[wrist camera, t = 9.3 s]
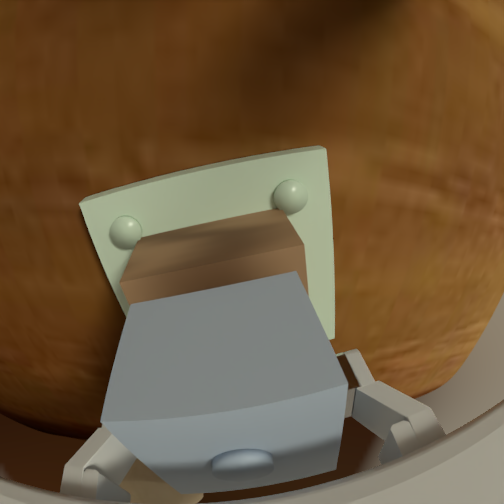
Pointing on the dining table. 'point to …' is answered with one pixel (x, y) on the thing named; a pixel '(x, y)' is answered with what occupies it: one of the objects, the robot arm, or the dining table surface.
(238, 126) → the dining table surface
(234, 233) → the base brick
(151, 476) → the candle
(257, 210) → the plate
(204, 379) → the blue brick
